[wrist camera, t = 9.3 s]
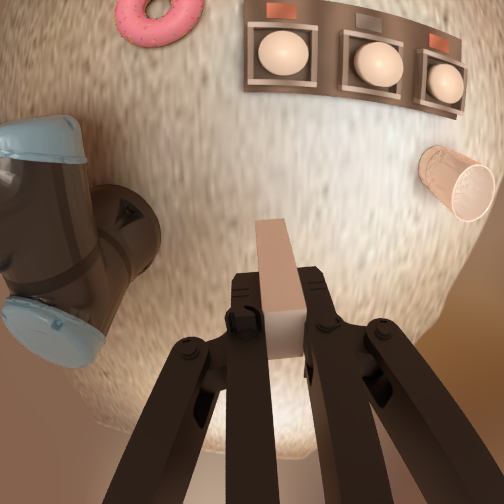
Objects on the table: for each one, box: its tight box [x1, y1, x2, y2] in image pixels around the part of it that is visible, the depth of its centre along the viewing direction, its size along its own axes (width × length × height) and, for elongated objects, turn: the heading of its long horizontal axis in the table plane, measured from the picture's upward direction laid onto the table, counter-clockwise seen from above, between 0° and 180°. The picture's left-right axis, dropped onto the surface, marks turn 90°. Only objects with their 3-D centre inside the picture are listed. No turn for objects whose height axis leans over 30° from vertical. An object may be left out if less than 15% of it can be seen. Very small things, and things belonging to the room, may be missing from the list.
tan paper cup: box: [419, 146, 495, 222], centre depth 32 cm, size 8×8×10 cm
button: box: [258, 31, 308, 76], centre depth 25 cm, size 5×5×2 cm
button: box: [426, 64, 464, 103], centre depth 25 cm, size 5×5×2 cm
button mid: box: [354, 42, 403, 87], centre depth 24 cm, size 5×5×2 cm
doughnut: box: [113, 0, 204, 47], centre depth 24 cm, size 11×11×4 cm
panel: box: [244, 0, 468, 120], centre depth 26 cm, size 28×12×5 cm, turn 90°
